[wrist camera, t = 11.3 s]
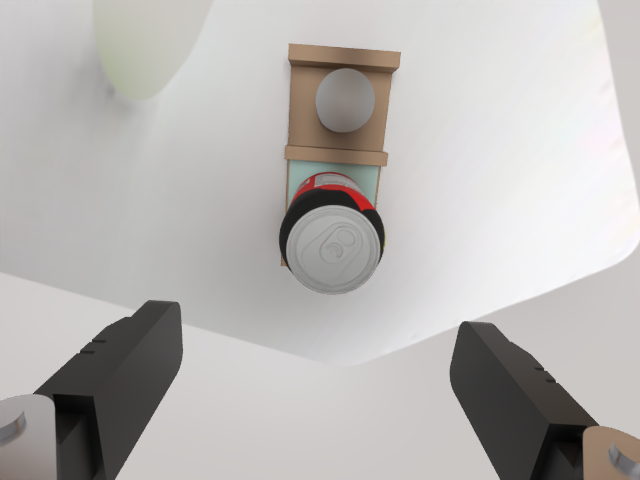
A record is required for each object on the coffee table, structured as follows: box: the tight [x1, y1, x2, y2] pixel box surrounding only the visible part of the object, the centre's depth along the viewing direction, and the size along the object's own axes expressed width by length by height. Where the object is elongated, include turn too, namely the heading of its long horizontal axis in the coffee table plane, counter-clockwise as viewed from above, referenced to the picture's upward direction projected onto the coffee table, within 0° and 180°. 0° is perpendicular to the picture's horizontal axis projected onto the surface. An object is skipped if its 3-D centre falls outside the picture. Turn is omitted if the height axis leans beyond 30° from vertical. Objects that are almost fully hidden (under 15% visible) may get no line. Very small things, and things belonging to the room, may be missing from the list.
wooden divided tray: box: [281, 44, 401, 266], centre depth 26 cm, size 8×17×10 cm, turn 176°
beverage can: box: [279, 172, 385, 294], centre depth 24 cm, size 6×6×12 cm
